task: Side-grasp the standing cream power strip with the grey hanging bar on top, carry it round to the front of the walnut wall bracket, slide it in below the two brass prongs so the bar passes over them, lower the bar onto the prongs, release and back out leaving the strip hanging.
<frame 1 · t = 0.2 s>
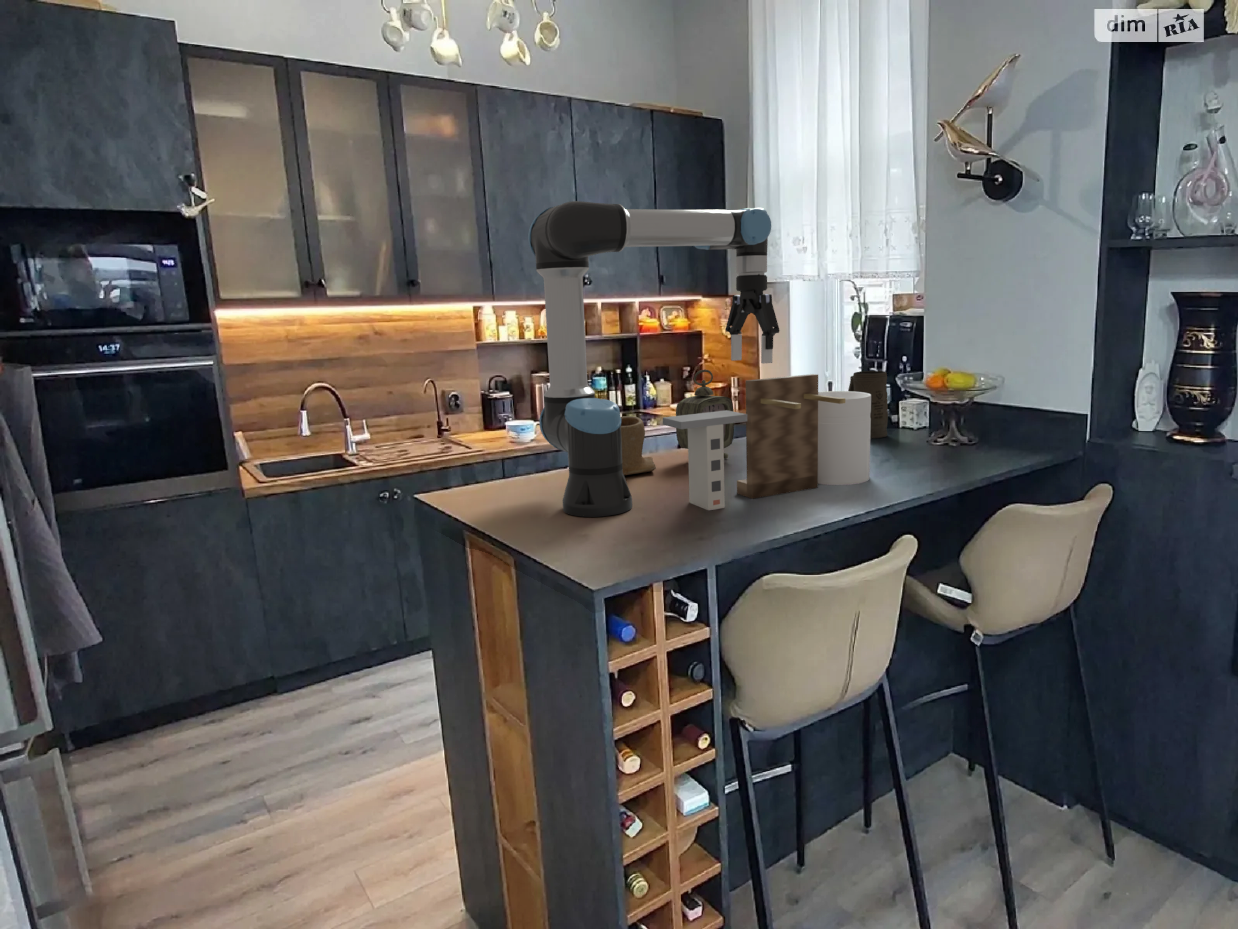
hand: (751, 361, 201), 28 cm above the countertop, tool pointing down, fingers open, 13 cm apart
tabletop clock: (704, 461, 220), on the countertop
bracket: (782, 492, 182), on the countertop
canister: (834, 478, 194), on the countertop
power strip: (706, 505, 174), on the countertop
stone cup: (630, 475, 208), on the countertop
beer stein: (863, 435, 249), on the countertop
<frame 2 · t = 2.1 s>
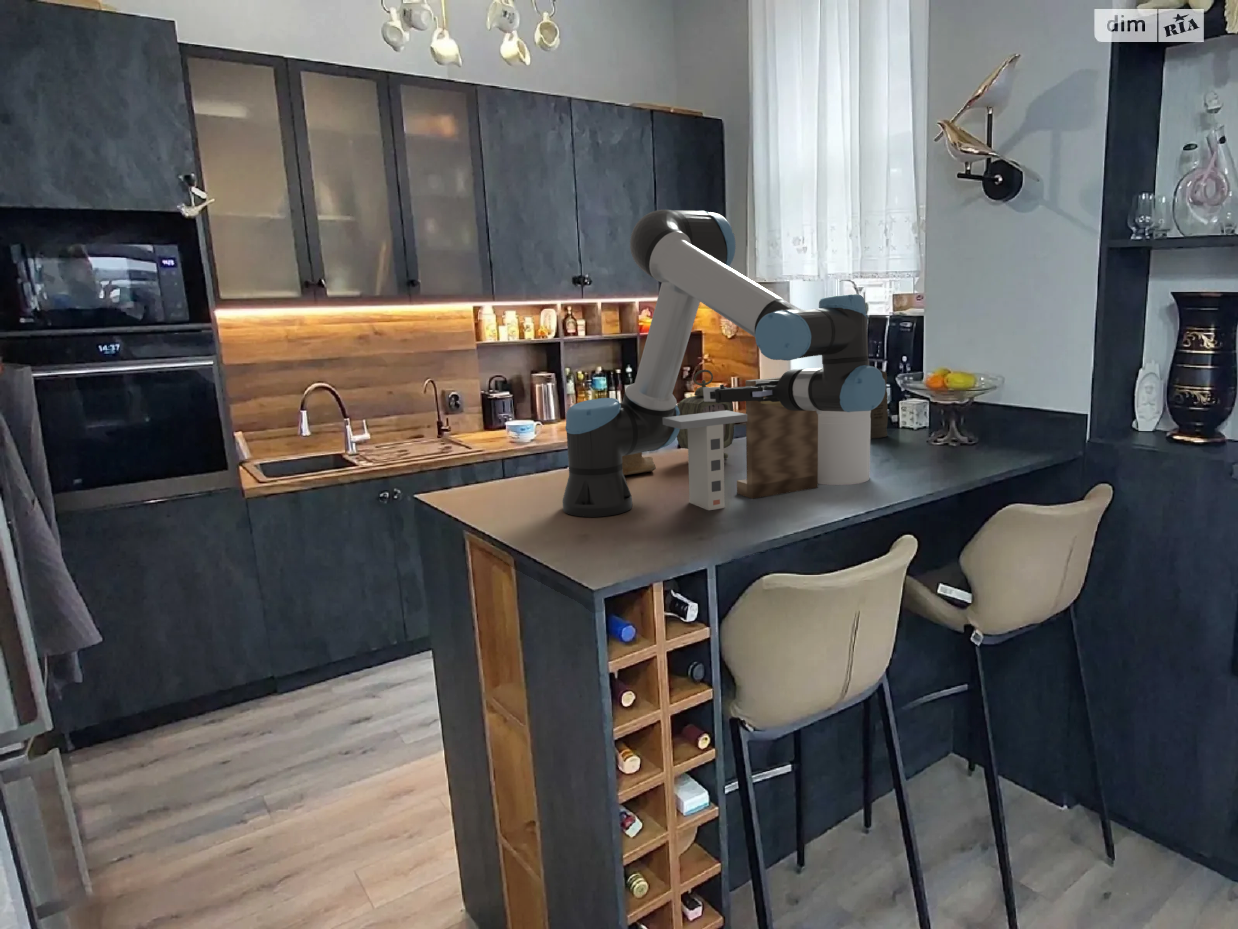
hand: (731, 390, 162), 25 cm above the countertop, tool horizontal, fingers open, 13 cm apart
nothing on the countertop moved.
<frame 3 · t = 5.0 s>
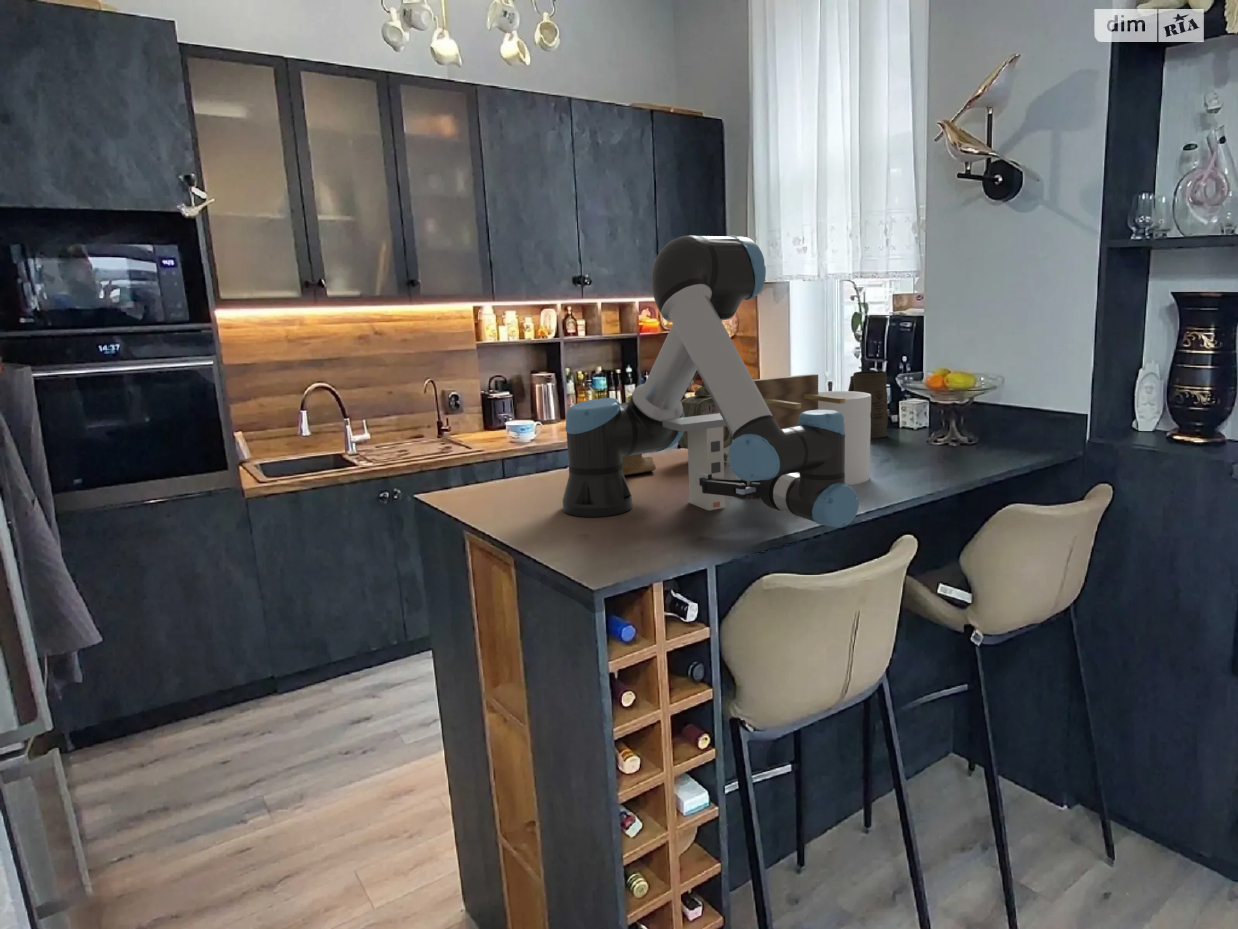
hand: (724, 473, 166), 8 cm above the countertop, tool horizontal, fingers open, 13 cm apart
power strip: (706, 507, 174), on the countertop, touching arm
everything else where it was.
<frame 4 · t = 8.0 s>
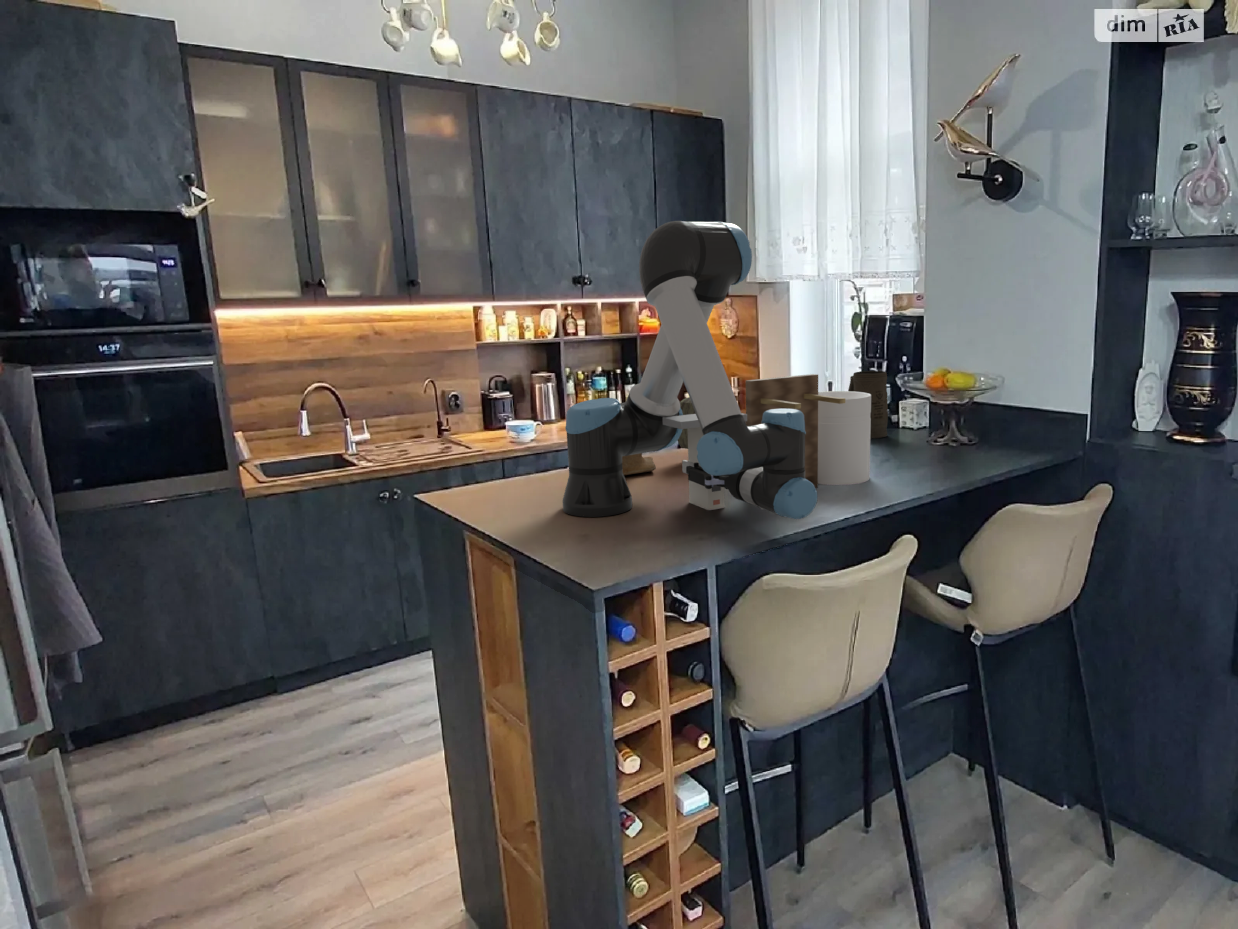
hand: (693, 464, 177), 8 cm above the countertop, tool horizontal, fingers closed on power strip, 4 cm apart
power strip: (706, 505, 174), on the countertop, touching gripper
everything else where it was.
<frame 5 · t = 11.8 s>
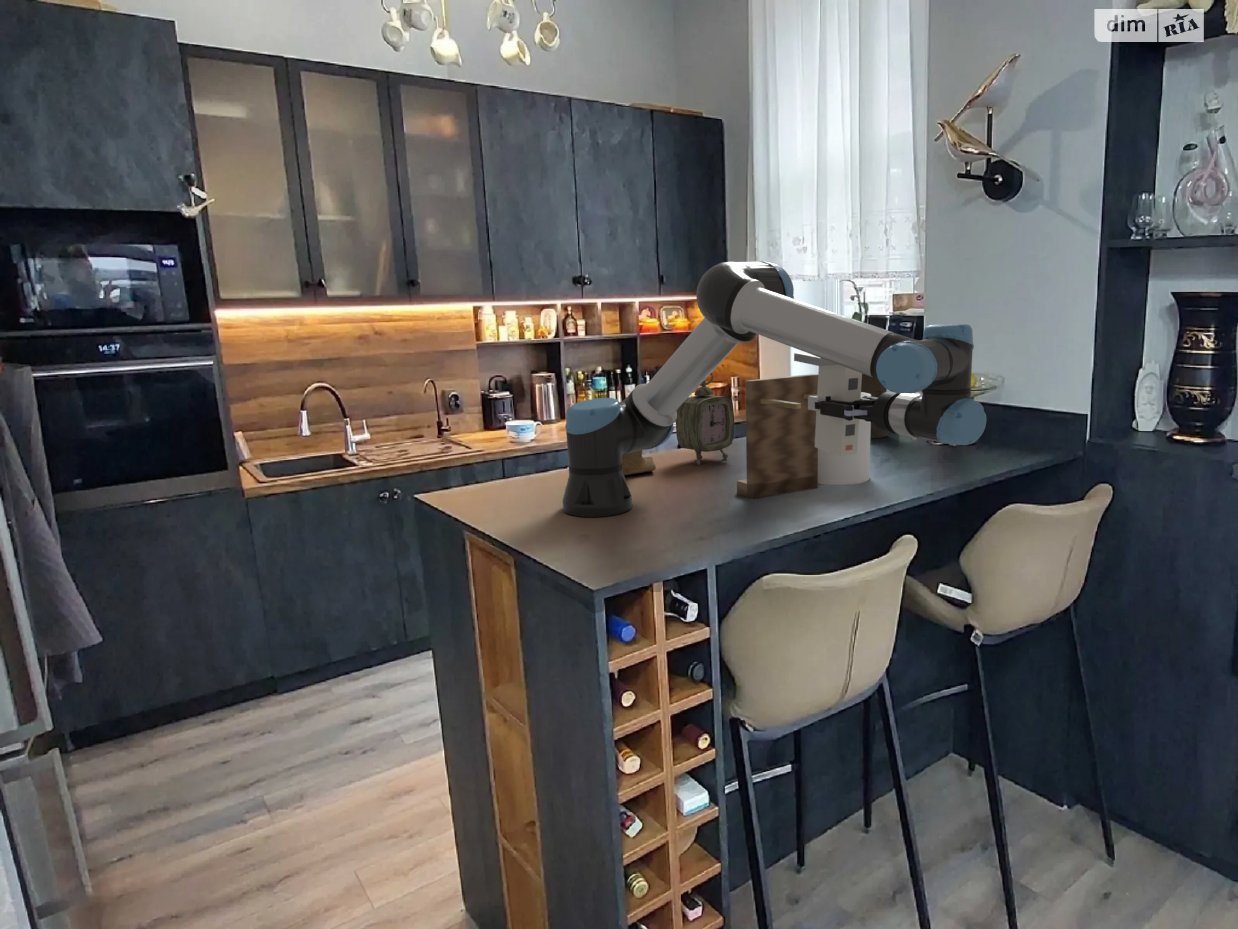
hand: (819, 401, 163), 22 cm above the countertop, tool horizontal, fingers closed on power strip, 4 cm apart
power strip: (835, 450, 160), point 13 cm above the countertop, touching gripper
everything else where it was.
when the fingers open (13 cm above the countertop, at t = 16.0 s): power strip stays where it is, resting on bracket.
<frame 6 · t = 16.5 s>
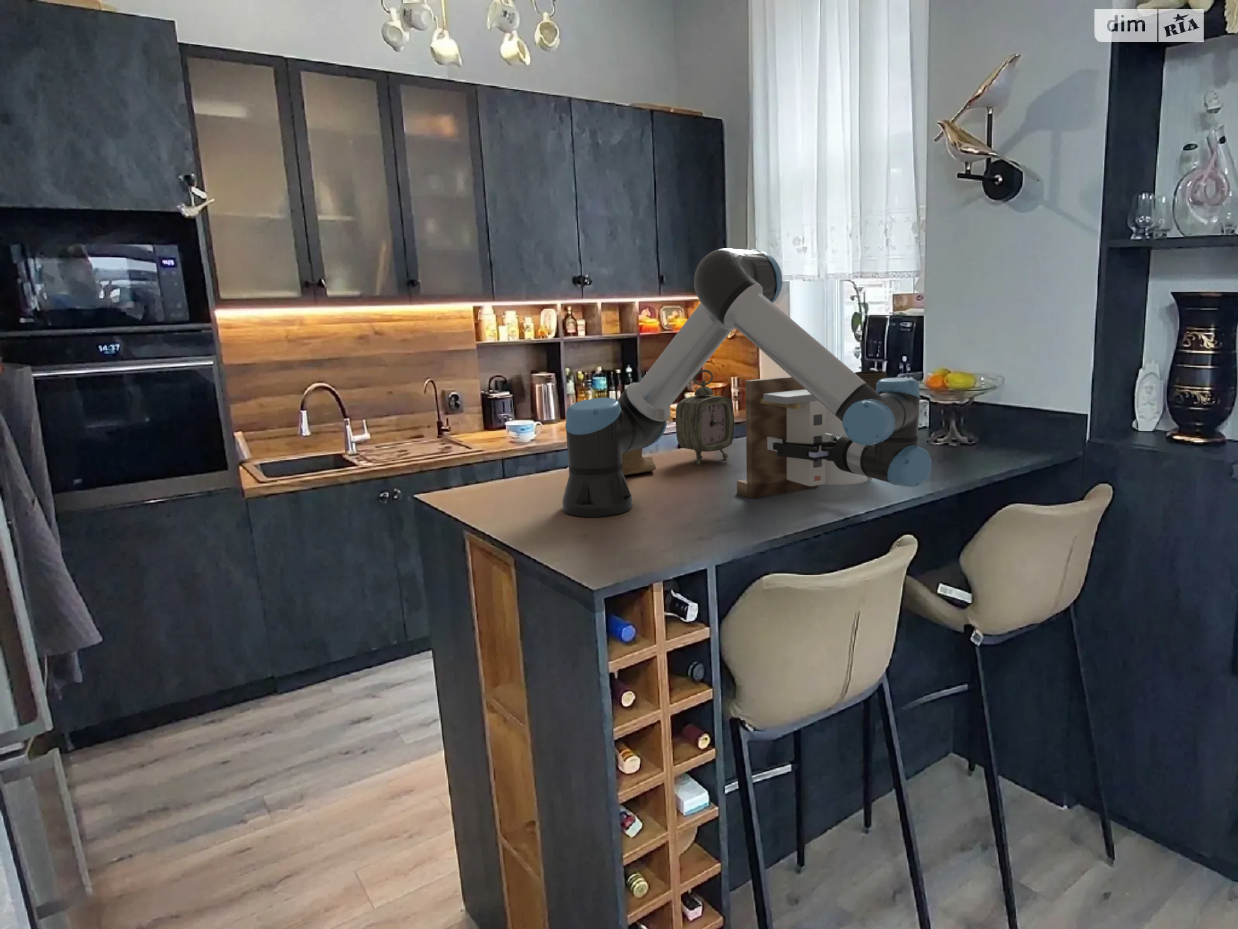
hand: (791, 439, 176), 12 cm above the countertop, tool horizontal, fingers open, 11 cm apart
power strip: (805, 481, 174), point 4 cm above the countertop, touching bracket
everything else where it was.
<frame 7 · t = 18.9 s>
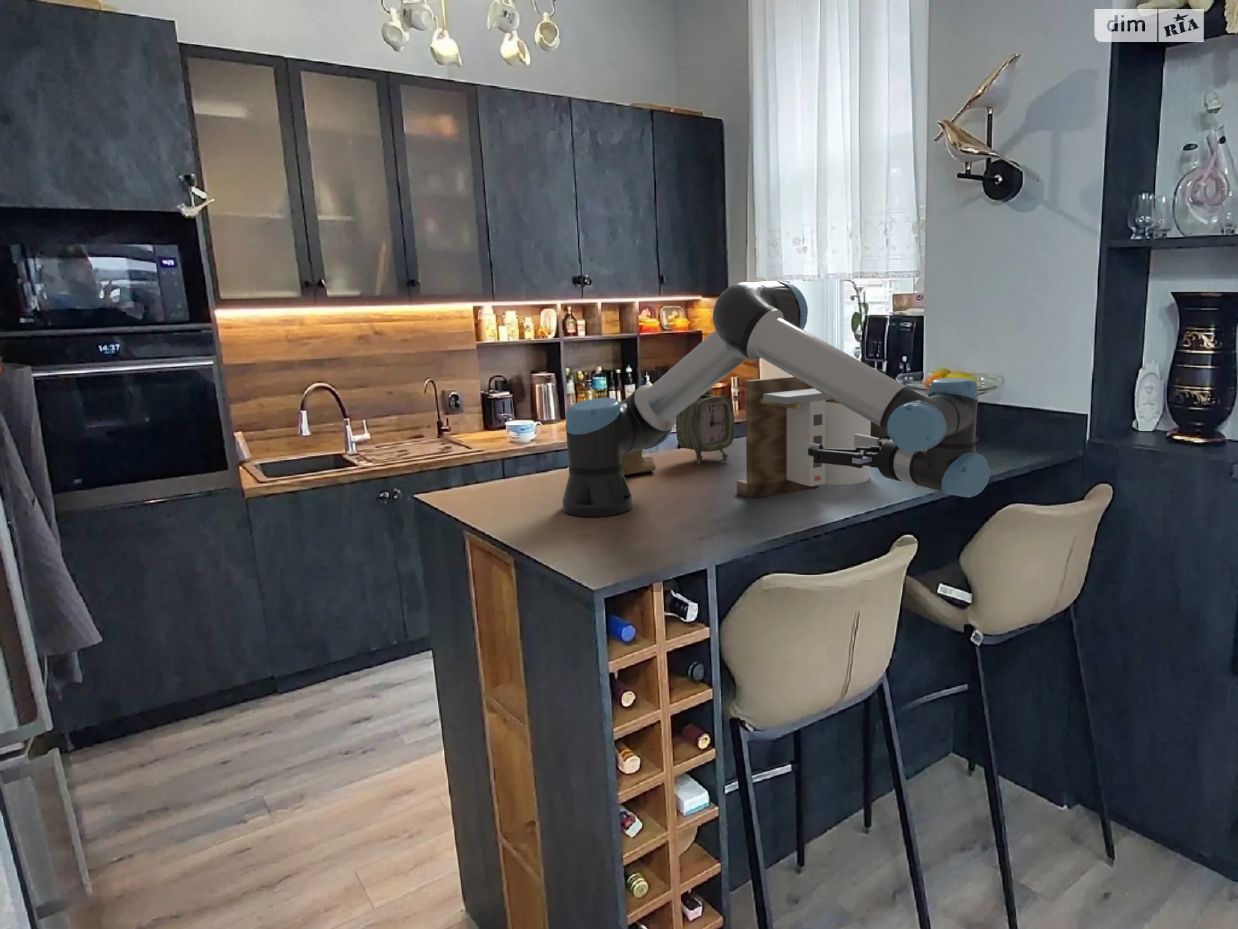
hand: (829, 444, 164), 14 cm above the countertop, tool horizontal, fingers open, 13 cm apart
nothing on the countertop moved.
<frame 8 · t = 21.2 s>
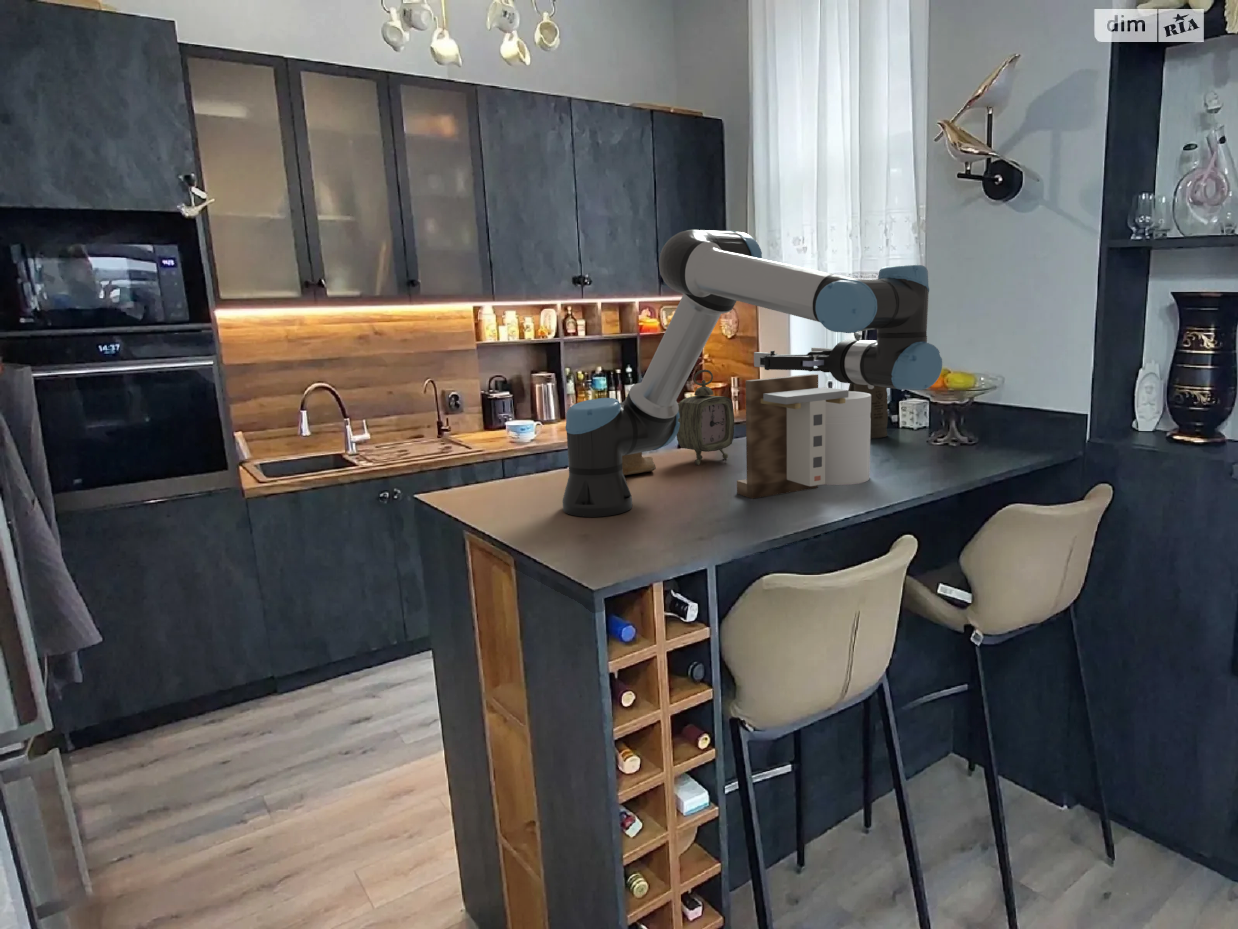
hand: (784, 356, 157), 32 cm above the countertop, tool horizontal, fingers open, 13 cm apart
nothing on the countertop moved.
at the end: power strip inside the target area (1.2 cm from its centre), point 4.0 cm above the countertop; power strip touching bracket; the gripper is holding nothing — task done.
